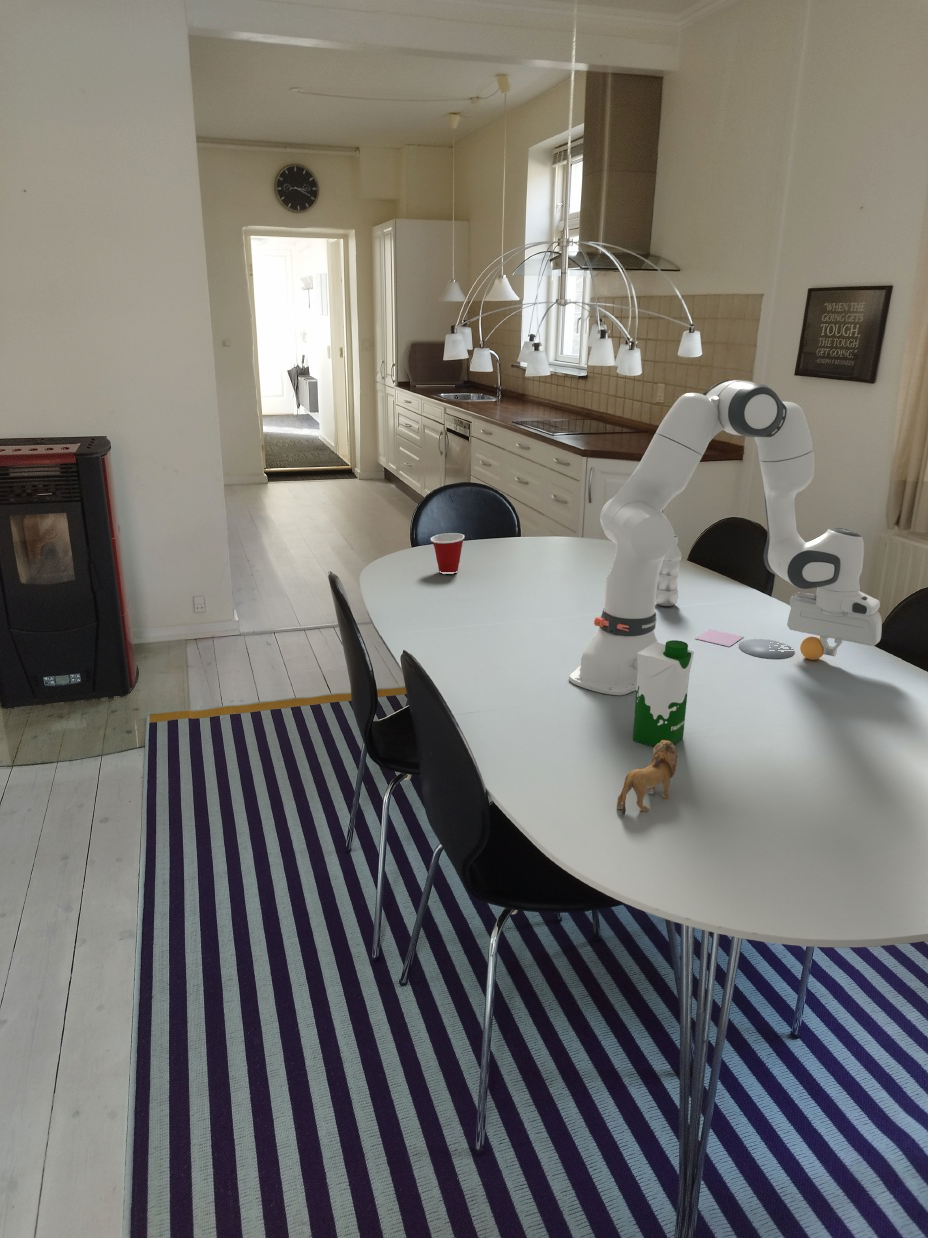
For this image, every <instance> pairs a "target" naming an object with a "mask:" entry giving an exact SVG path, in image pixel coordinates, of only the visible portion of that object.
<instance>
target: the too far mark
mask: <svg viewBox="0 0 928 1238" xmlns="http://www.w3.org/2000/svg"><path fill="white" fill-rule="evenodd" d="M743 637H744V636H742V635H738V634H735V633H734V634H733V633H728V632H724V631H719V630H716V629H712V628H710V629H708V630H707V631H704V632H703V633H702V634H700V635H698V636H697V637H695V638H694V640H697V641H698V640H699V641H701V642H706V643H710V644H714V645H718V646H722V645H724V647H728V648H730V647H732V646H733V645H735V644H736V643H738V642H739V641H741V640H742V639H743ZM737 641H738V642H737ZM731 645H732V646H731Z"/></svg>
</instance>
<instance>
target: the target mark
mask: <svg viewBox="0 0 928 1238" xmlns="http://www.w3.org/2000/svg"><path fill="white" fill-rule="evenodd" d="M770 642H771V643H770ZM772 642H773V643H772ZM780 642H781V641H776V640H771V639H765V638H764V639H762V638H757V639H756V638H752V639H746V640H742V641H740V642H739V643H738V646H739V647H738V648H739V650H740V651H741V652H743V653H745V654H746V655H747V654H748V655H749V656H753V657H755V658H756V657H757V658H760V659H768V660H769V658H773V660H775V659H774V658H782V659H788V658H790V656H791V657H792V656H794V655H795V650H794V648H793V647H792V646H790V645H788V644H786V643H784V642H781V643H780ZM777 643H779V644H777ZM769 645H770V646H769ZM774 645H778V646H774ZM781 645H787V646H784V647H788V648H789V649H783V648H780V647H781ZM769 647H771V648H769ZM778 648H780V649H778ZM791 648H793V649H791ZM769 650H775V651H769ZM778 650H794V651H784V652H781V651H778ZM793 654H794V655H793ZM787 657H788V658H787Z"/></svg>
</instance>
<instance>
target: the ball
mask: <svg viewBox="0 0 928 1238" xmlns="http://www.w3.org/2000/svg"><path fill="white" fill-rule="evenodd" d="M799 647H800V653H801V655H802V656H803V657H804V658H806V659H807V660H811V661H813V660H818V659H820V658H822V657H823V656H824V654H823V651H824V647H823V646H822V644H821V642H820V637H817V636H808V637H806V638H804V639H803V640H802V641H801V643H800V646H799Z"/></svg>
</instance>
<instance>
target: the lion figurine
mask: <svg viewBox="0 0 928 1238" xmlns="http://www.w3.org/2000/svg"><path fill="white" fill-rule="evenodd" d="M652 753H653V754H652V757H653V758H652V761H651V764H650V765H647V766H646V767H643V768H635V769H632V770H630V771H629V772H628V773H627V774H626V776H625V779H624V781H623V783H624V784H623V786H622V790H621V793H620V794H619V796H618V797H617V802H616V808H617V809H618V810H621V815H620V816H623V817H624V816H625V815H626V811H627V810H626V801H627V800H626V799H627V795H628V794H629V792H630V791H631V790H632V789H633V791H634V793H635V795H636V803H635V804H636V805H637V806H638V808H639V809H640V811H641V812H648V811H649V807H648V806H647V805H644V804H643V801H644V798H645V795H646V792H647V793H648V794H651V795H653V794H655V792H656V789H655V788H656V787H657V786H659V785H660V784H661V785H662V790H661V797H662V798H663V799H669V798H670V794H669V793H668V792H669V788H670V783H671V782H670V779H672V778H673V777H674V776H675V774H676V771H677V764H678V762H677V759H678V749H677V748H676V746H675V745H673V743H672V742H671V741H668V740H667V741H666V740H662V741H661V742H660V743H658V744H657V745H656V746H655V747H652ZM646 790H647V791H646Z"/></svg>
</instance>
